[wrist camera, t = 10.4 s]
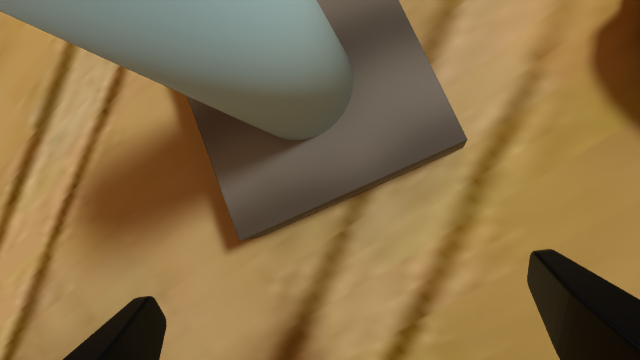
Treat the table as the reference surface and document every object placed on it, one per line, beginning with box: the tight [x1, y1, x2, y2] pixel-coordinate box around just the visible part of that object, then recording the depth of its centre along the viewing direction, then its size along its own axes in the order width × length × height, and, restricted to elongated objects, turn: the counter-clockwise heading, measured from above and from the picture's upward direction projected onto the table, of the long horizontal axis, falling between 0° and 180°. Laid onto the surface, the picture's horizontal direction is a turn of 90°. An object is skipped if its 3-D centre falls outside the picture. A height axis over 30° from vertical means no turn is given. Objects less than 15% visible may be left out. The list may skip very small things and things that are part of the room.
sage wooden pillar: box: [0, 0, 353, 140], centre depth 13 cm, size 6×6×13 cm
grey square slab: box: [187, 0, 467, 241], centre depth 20 cm, size 12×12×2 cm
